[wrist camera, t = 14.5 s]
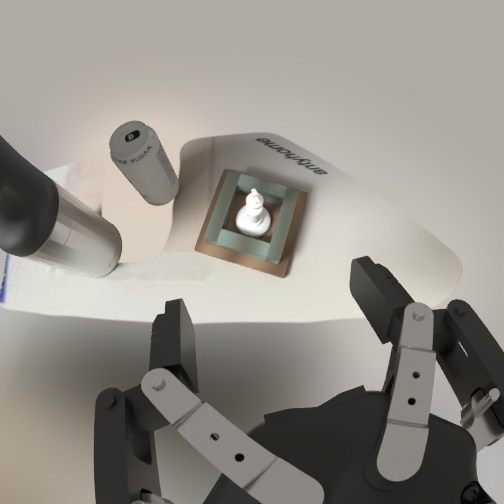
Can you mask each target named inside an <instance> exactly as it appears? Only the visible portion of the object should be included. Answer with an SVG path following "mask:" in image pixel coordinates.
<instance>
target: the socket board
mask: <svg viewBox="0 0 504 504" xmlns="http://www.w3.org/2000/svg"><path fill="white" fill-rule="evenodd" d="M251 189H255V190H256V191H257V193H259V194H261V195H262V197H263V199H264V202H263V207H264V208H265V209H266V210H267V211H268V213H269V215H270V218H271V224H270V228H269V230H268V231H267V232H266V233H265V234H264V235H263V236H261V237H258V238H250V237H247V236H244V235H243V234H241V233H240V232H239V230H238V228H237V226H236V216H237V214H238V212H239V210H240V209H241V208H242V207H244V206H246V204H247V203H246V198H247V196H248V195H249V194H250V193H252V192H251ZM306 197H307V193H305V192H302V191H300V190H296V189H293V188H290V187H287V186H283V185H280V184H277V183H273V182H270V181H266V180H263V179H259V178H256V177H252V176H249V175H245V174H241V173H238V172H234V171H230V170H225V169H224V171H223V174H222V176H221V179H220V181H219V184H218V186H217V189H216V192H215V194H214V197H213V199H212V202H211V205H210V207H209V210H208V213H207V215H206V218H205V221H204V224H203V226H202V229H201V232H200V235H199V238H198V240H197V243H196V246H195V249H194V250H195V251H197V252H200V253H203V254H206V255H210V256H213V257H216V258H219V259H222V260H226V261H229V262H232V263H235V264H238V265H242V266H245V267H248V268H251V269H255V270H258V271H261V272H265V273H268V274H271V275H274V276H278V277H281V278H284V277H285V273H286V270H287V267H288V263H289V260H290V256H291V252H292V249H293V245H294V242H295V238H296V234H297V231H298V227H299V224H300V220H301V216H302V212H303V209H304V205H305V201H306Z"/></svg>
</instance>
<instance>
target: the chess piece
mask: <svg viewBox="0 0 504 504" xmlns="http://www.w3.org/2000/svg"><path fill="white" fill-rule="evenodd" d="M251 192H252V193H250V194H249V195H248V196H247V198H246V203H247V204H246V206H244V207H242V208H241V209H240V210H239V212H238V214H237V216H236V226H237V228H238V230H239V232H240V233H241V234H243V235H244V236H247V237H250V238H258V237H261V236H263V235H264V234H265V233H266V232H267V231H268V230H269V228H270V224H271V218H270V215H269V213H268V211H267V210H266V209H265V208H264V207H263V202H264V199H263V197H262V195H261V194H259V193H257V191H256V190H255V189H251Z"/></svg>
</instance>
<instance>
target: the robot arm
mask: <svg viewBox="0 0 504 504" xmlns="http://www.w3.org/2000/svg"><path fill="white" fill-rule="evenodd" d="M0 248H1V249H2V250H3V251H5V252H7V253H9V254H12V255H15V256H19V257H22V258H25V259H28V260H32V261H35V262H38V263H42V264H45V265H48V266H52V267H55V268H59V269H62V270H65V271H69V272H72V273H76V274H79V275H83V276H87V277H91V278H100V277H103V276H105V275H107V274H109V273H110V272H111V271H112V270H113V269H114V268H115V266H116V265H117V263H118V261H119V259H120V256H121V252H122V239H121V236H120V233H119V231H118V230H117V228H116V227H115V226H114V225H113V224H111V223H110V222H108V221H107V220H106V219H104V218H103V217H102V216H100V215H99V214H98V213H96V212H95V211H93V210H92V209H91V208H89V207H88V206H87V205H85V204H84V203H82V202H81V201H80V200H78V199H77V198H76V197H74V196H73V195H72V194H70V193H69V192H68V191H66V190H65V189H64V188H62V187H61V186H60V185H58V184H57V183H56V182H54V181H53V180H52V179H51V178H49V177H48V176H47V175H45V174H44V173H43V172H41V171H40V170H38V169H37V168H36V167H34V166H33V165H32V164H31V163H29V162H28V161H27V160H26V159H25V158H23V157H22V156H21V155H20V154H19V153H18V152H17V151H16V150H15V149H14V148H13V147H12V146H11V145H9V143H7V142H6V141H5V139H3V137H1V135H0ZM350 291H351V294H352V296H353V298H354V299H355V301H356V302H357V304H358V305H359V307H360V308H361V310H362V312H363V313H364V315H365V316H366V318H367V320H368V321H369V323H370V324H371V326H372V328H373V329H374V331H375V332H376V334H377V336H378V338H379V339H380V341H381V343H382V344H385V343H388V342H390V341H391V343H392V345H393V346H392V349H391V355H390V359H389V365H388V369H387V374H386V379H385V382H384V385H383V388H382V391H366V390H365V388H364V386H363V385H362V386H359V387H356V388H354V389H351V390H348V391H345V392H342V393H340V394H338V395H337V396H335V397H333V398H332V399H330V400H329V401H327V402H325V403H323V404H322V405H320V406H318V407H312V408H293V409H286V410H282V411H278V412H274V413H269V414H265V415H264V419H265V421H263V422H262V423H259V424H258V425H256V426H255V427H254V428H252V429H251V430H250V431H249V432H248V433H247V434H244V433H243V432H242V431H241V430H239V429H238V428H237V427H235V426H234V425H233V424H232V423H230V422H229V421H228V420H227V419H225V418H224V417H223V416H222V415H221V414H219V413H218V412H217V411H216V410H215V409H213V408H212V407H211V406H210V405H209V404H207V403H206V402H204V401H203V402H202V401H201V400H200V399H199V398H197V397H196V396H195V395H194V393H198V392H199V390H198V379H197V365H196V351H195V336H194V328H193V324H192V321H191V318H190V316H189V313H188V311H187V309H186V306H185V304H184V301H183V299H182V298H181V299H176V300H171V301H166V303H165V313H164V314H159V315H157V317H156V318H155V320H154V322H153V324H152V337H151V351H150V367H149V372H148V373H147V374H146V375H145V376H144V378H143V380H142V383H141V384H140V385H138V386H136V387H134V388H132V389H129V390H127V391H125V392H121V391H120V390H119V389H117V388H108V389H105V390H104V391H102V392H101V393H100V394H99V396H98V397H97V400H96V406H95V423H94V481H95V498H96V504H174V503H173V502H172V501H170V500H169V499H166V498H163V497H162V495H161V489H160V483H159V475H158V467H157V460H156V451H155V440H154V431H155V430H157V429H160V428H162V427H164V426H167V425H169V424H172V425H173V426H174V428H175V429H176V430H177V431H178V432H179V433H180V434H181V435H182V436H183V437H184V438H185V439H186V440H187V441H188V442H189V443H190V444H191V445H192V446H194V447H195V448H196V449H197V450H198V451H199V452H200V453H201V454H202V455H203V456H204V457H205V458H207V460H209V461H210V462H211V463H212V464H213V465H214V466H216V467H217V468H218V469H219V470H220V471H221V472H222V474H221V476H220V477H219V479H218V480H217V482H216V484H215V485H214V487H213V488H212V490H211V492H210V493H209V495H208V496H207V498H206V500H205V501H204V502H203V504H496V502H495V501H494V500H493V499H492V498H491V497H490V496H489V495H488V494H487V493H486V492H485V491H484V490H483V488H482V487H481V486H480V484H479V482H478V478H477V469H476V457H477V452H478V451H480V450H482V449H483V448H484V447H486V446H490V445H492V444H493V443H495V442H496V441H498V440H499V439H501V438H502V437H503V436H504V352H503V350H502V349H501V348H500V346H499V345H498V343H497V342H496V340H495V339H494V337H493V336H492V334H491V333H490V332H489V330H488V329H487V327H486V326H485V325H484V323H483V322H482V321H481V319H480V318H479V317H478V315H477V314H476V313H475V311H474V310H473V309H472V308H471V306H470V305H469V304H468V303H466V302H465V301H463V300H458V299H456V300H452V301H451V302H450V303H449V304H448V306H447V309H438V310H431V309H430V307H428V306H427V305H425V304H423V303H419V302H415V301H414V300H413V299H412V297H411V296H410V295H409V294H408V293H407V291H406V290H405V289H404V288H403V286H402V285H401V284H400V283H398V280H397V279H396V278H395V277H394V276H393V274H392V273H391V272H390V271H389V270H388V269H387V268H386V267H384V266H382V265H381V264H375V263H374V262H373V261H372V260H371V259H370V257H368V256H364V257H360V258H356V259H353V260H352V263H351V274H350ZM459 342H460V343H461V345H462V346H463V348H464V349H465V351H466V353H467V355H468V357H467V355H466V354H465V352H464V351H463V349H462V348H461V346H460V344H459ZM436 360H437V362H438V364H439V365H440V367H441V369H442V371H443V372H444V374H445V376H446V378H447V380H448V381H449V383H450V385H451V387H452V389H453V391H454V393H455V395H456V396H457V398H458V400H459V402H460V404H461V406H462V411H461V421H460V424H461V426H462V427H461V426H458V425H456V424H454V423H452V422H449V421H447V420H445V419H442V418H440V417H438V416H436V415H433V414H431V413H429V412H430V405H431V399H432V391H433V383H434V374H435V362H436Z"/></svg>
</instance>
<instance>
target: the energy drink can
mask: <svg viewBox="0 0 504 504" xmlns="http://www.w3.org/2000/svg"><path fill="white" fill-rule="evenodd" d="M109 145H110V149H111V152H110V154H111V159H112V161H113V162H114V163H115V165H116V166H117V167H118V168H119V169H120V171H121V172H122V173H123V174H124V176H125V177H126V178H127V179H128V180H129V182H130V183H131V184H132V185H133V186H134V187H135V189H136V190H137V191H138V192H139V193H140V195H141V196H142V197H143V198H144V199H145V200H146V201H147V202H148V203H149V204H151V205H155V206H160V205H164V204H167V203H169V202H170V201H171V200H172V199H174V197H175V196H176V194H177V193H178V190H179V180H178V178H177V176H176V174H175V172H174V170H173V168H172V166H171V163H170V162H169V159H168V157H167V155H166V153H165V151H164V149H163V147H162V145H161V143H160V140H159V138H158V136H157V135H156V132H155V131H154V130H153V129H152V128H151V127H149V126H146V125H145V124H144V123H143V122H140V121H130V122H127V123H125V124H123V125H121V126H120V127H118V128H117V129H116V130H115V132H114V133H113V134H112V136H111V139H110V143H109Z"/></svg>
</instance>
